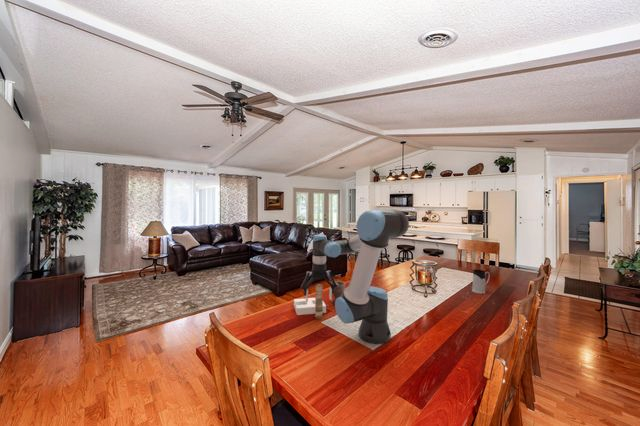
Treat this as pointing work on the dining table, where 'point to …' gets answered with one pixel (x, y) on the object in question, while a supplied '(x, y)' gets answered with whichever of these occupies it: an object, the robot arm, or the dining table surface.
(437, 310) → the dining table surface
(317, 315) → the leg peg
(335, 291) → the mortar and pestle
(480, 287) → the grey mug
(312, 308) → the board
